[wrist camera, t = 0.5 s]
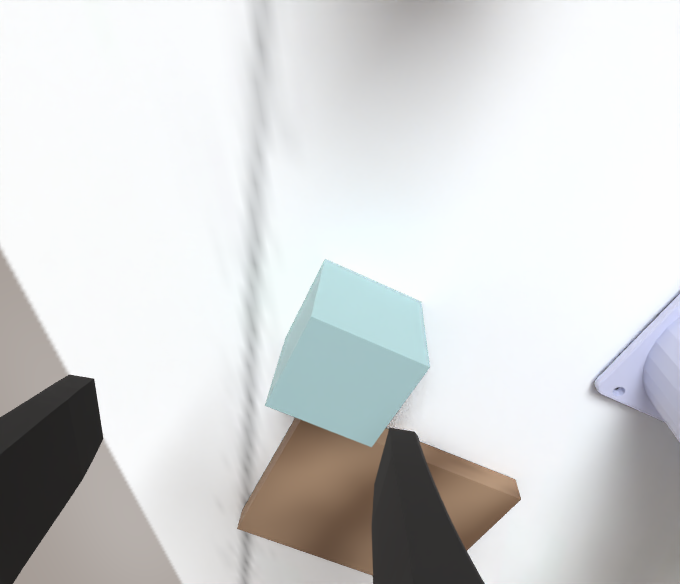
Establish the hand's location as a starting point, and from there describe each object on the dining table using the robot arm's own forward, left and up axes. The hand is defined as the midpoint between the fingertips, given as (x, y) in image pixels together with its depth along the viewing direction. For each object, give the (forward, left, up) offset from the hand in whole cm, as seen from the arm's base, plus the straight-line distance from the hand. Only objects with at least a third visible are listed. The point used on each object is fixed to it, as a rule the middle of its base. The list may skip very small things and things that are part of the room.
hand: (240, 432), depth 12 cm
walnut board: (-9, +12, -9) cm, 18 cm away
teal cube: (-3, +2, -10) cm, 10 cm away
